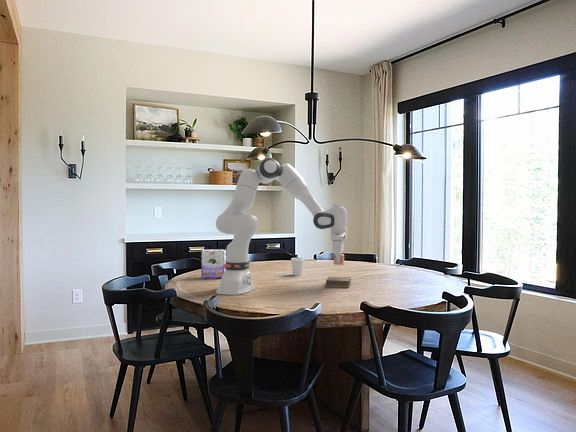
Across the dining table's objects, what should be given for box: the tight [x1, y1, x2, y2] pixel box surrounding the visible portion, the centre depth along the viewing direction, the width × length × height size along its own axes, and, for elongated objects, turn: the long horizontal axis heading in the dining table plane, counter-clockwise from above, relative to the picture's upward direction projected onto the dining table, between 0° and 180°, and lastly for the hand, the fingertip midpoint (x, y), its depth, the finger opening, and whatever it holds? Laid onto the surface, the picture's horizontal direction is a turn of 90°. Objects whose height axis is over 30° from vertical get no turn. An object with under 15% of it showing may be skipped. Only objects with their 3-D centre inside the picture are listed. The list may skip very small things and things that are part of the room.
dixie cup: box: [290, 257, 305, 277], centre depth 284 cm, size 8×8×10 cm
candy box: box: [200, 249, 227, 279], centre depth 274 cm, size 14×6×16 cm, turn 84°
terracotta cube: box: [333, 253, 345, 266], centre depth 252 cm, size 5×5×5 cm
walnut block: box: [325, 275, 352, 289], centre depth 252 cm, size 12×12×4 cm
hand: (338, 261), depth 252 cm, fingers closed on terracotta cube, 5 cm apart
